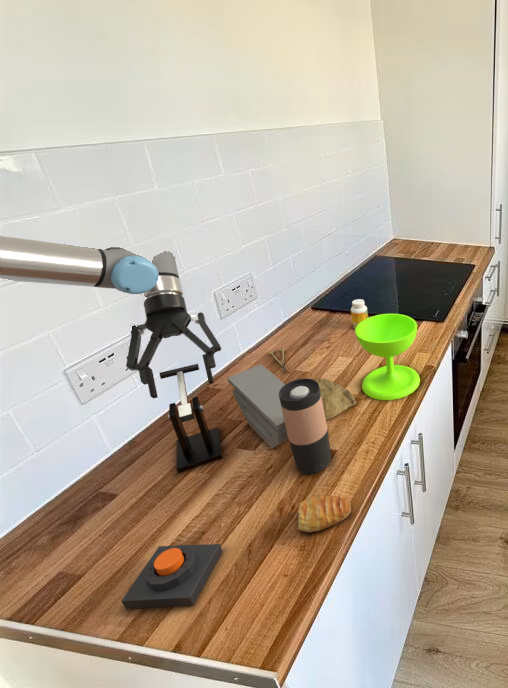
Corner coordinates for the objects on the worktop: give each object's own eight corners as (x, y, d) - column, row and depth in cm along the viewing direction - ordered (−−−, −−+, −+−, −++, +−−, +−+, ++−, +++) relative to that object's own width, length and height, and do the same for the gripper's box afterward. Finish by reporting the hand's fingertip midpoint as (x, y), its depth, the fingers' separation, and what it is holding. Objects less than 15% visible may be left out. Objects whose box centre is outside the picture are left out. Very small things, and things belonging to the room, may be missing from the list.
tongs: (280, 374, 124) (279, 368, 123) (269, 355, 133) (267, 350, 132) (296, 369, 126) (295, 363, 125) (283, 351, 135) (282, 345, 134)
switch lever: (161, 376, 96) (158, 370, 95) (199, 367, 100) (196, 361, 98) (168, 426, 90) (164, 421, 89) (207, 415, 94) (205, 409, 92)
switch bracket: (177, 443, 98) (160, 399, 93) (219, 431, 102) (205, 387, 97) (178, 473, 91) (159, 426, 85) (222, 458, 95) (207, 412, 90)
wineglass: (401, 360, 133) (397, 308, 125) (431, 384, 123) (429, 329, 115) (351, 380, 123) (344, 325, 115) (380, 408, 113) (374, 349, 105)
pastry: (351, 496, 88) (348, 483, 86) (351, 525, 82) (349, 511, 81) (300, 508, 85) (297, 494, 83) (297, 538, 79) (294, 525, 78)
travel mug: (289, 461, 95) (271, 388, 86) (322, 444, 100) (309, 373, 92) (304, 481, 91) (287, 406, 82) (338, 462, 96) (326, 389, 87)
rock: (358, 386, 117) (318, 385, 114) (357, 376, 109) (315, 375, 107) (354, 426, 112) (312, 427, 109) (353, 419, 105) (308, 419, 102)
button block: (125, 609, 67) (116, 594, 66) (162, 554, 75) (155, 539, 74) (193, 605, 68) (186, 590, 67) (222, 551, 76) (217, 537, 75)
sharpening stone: (237, 413, 108) (227, 377, 104) (269, 398, 114) (261, 364, 109) (286, 464, 95) (277, 425, 90) (320, 444, 100) (312, 407, 95)
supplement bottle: (353, 323, 152) (350, 298, 148) (369, 322, 154) (366, 297, 149) (352, 330, 148) (349, 305, 143) (368, 329, 149) (365, 304, 145)
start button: (151, 576, 69) (148, 569, 68) (166, 555, 72) (163, 548, 71) (175, 575, 69) (172, 568, 68) (189, 554, 72) (186, 547, 71)
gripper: (221, 295, 110) (242, 377, 105) (106, 315, 98) (123, 408, 93) (218, 283, 104) (239, 370, 99) (94, 303, 92) (112, 403, 87)
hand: (183, 389), depth 96 cm, fingers open, 10 cm apart
